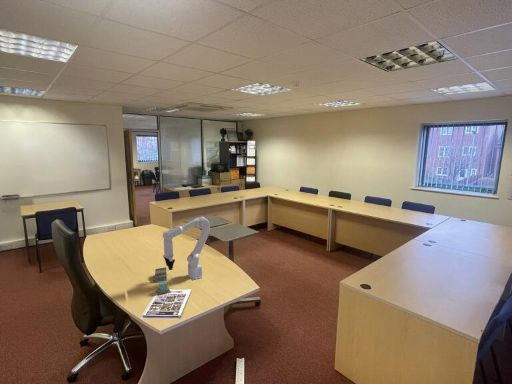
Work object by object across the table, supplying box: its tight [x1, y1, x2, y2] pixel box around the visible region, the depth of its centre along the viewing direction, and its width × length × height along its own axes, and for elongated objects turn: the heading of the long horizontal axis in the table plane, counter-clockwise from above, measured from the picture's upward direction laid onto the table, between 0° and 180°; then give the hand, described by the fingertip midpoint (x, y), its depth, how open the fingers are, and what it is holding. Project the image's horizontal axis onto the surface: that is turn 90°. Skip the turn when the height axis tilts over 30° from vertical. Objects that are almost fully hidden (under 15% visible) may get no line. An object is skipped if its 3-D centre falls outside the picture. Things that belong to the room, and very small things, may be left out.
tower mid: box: [156, 286, 170, 296], centre depth 172 cm, size 6×6×2 cm
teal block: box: [158, 281, 168, 291], centre depth 171 cm, size 4×4×4 cm
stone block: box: [153, 266, 168, 283], centre depth 191 cm, size 9×14×5 cm, turn 18°
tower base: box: [155, 286, 172, 297], centre depth 172 cm, size 8×8×2 cm
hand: (169, 267), depth 185 cm, fingers open, 7 cm apart
